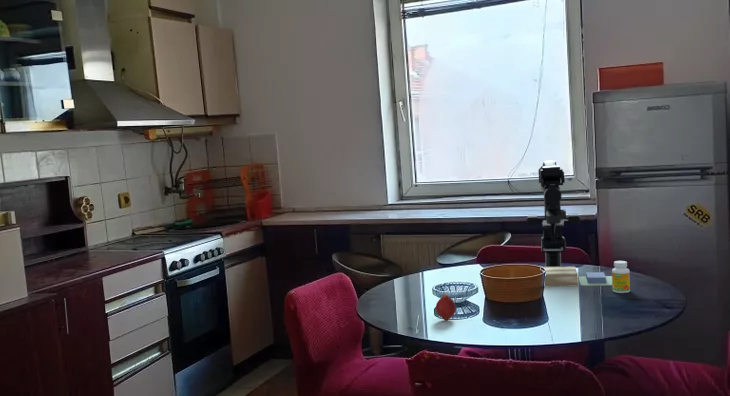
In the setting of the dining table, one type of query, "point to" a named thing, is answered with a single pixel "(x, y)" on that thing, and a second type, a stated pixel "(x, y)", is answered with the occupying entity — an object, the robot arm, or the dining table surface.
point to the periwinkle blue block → (595, 277)
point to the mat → (584, 283)
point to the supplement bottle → (620, 277)
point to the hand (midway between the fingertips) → (553, 243)
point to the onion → (445, 307)
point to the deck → (561, 276)
